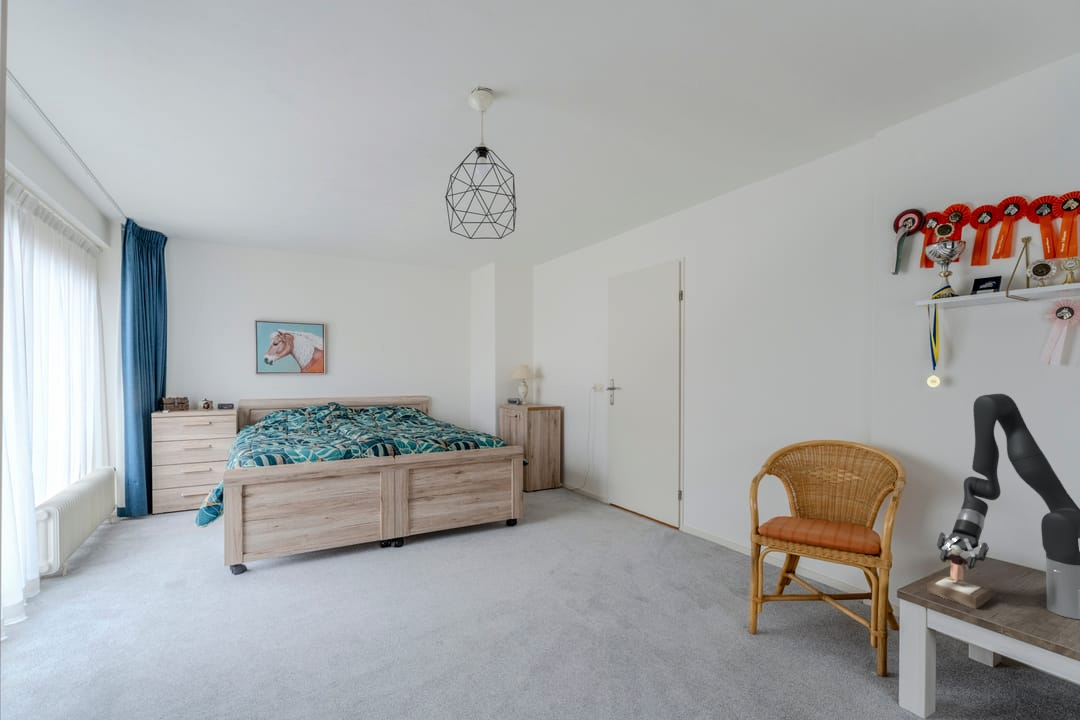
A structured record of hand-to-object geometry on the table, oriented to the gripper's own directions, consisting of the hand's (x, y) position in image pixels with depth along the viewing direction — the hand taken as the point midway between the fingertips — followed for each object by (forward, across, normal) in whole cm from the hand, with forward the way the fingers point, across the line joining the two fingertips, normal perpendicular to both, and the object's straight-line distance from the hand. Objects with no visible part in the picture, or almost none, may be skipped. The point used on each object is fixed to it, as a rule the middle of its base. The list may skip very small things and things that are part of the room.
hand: (955, 564), depth 181 cm
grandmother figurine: (+4, 0, +6) cm, 7 cm away
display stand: (+7, 0, +9) cm, 12 cm away
